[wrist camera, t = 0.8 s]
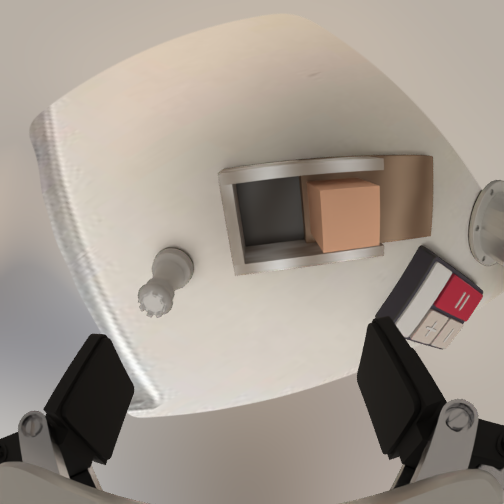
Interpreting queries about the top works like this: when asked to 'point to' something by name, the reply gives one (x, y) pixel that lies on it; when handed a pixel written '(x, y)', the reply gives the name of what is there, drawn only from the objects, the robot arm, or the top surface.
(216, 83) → the top surface
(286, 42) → the top surface
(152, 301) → the rook chess piece
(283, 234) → the metal sorting tray
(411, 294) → the calculator
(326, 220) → the block
